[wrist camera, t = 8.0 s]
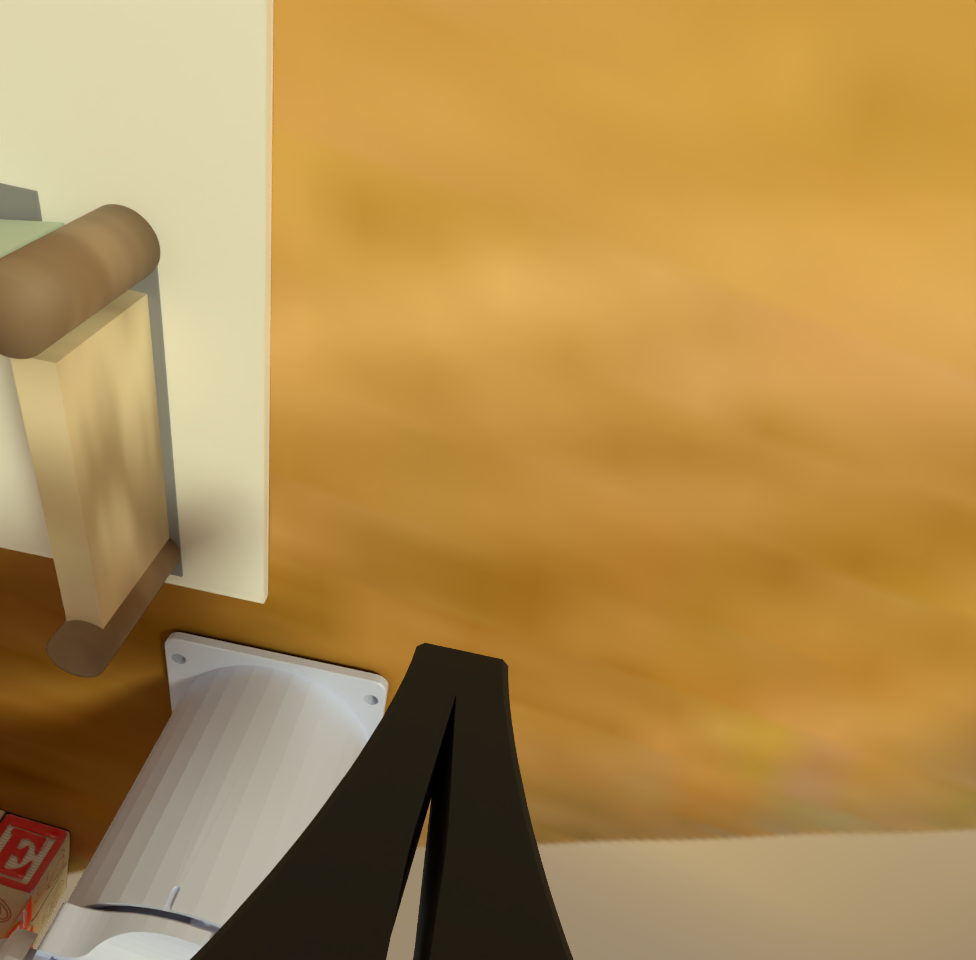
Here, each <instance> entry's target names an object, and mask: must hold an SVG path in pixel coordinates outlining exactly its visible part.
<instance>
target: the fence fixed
mask: <svg viewBox="0 0 976 960" xmlns="http://www.w3.org/2000/svg"><path fill="white" fill-rule="evenodd" d="M159 260H160V245H159V241H158V238H157V236H156V234H155V232H154V230H153V229H152V227H151V226H150V224H149V223H148V222H147V221H146V220H145V219H144V218H143V217H142V216H141V215H140V214H138V213H137V212H135V211H134V210H132V209H130V208H128V207H125V206H122V205H117V204H108V205H103V206H101V207H99V208H97V209H95V210H93V211H91V212H89V213H87V214H85V215H83V216H81V217H79V218H78V219H76V220H74V221H72V222H70V223H68V224H66V225H64V226H62V227H60V228H58V229H56V230H54V231H52V232H50V233H48V234H46V235H44V236H43V237H41V238H39V239H37V240H35V241H33V242H31V243H29V244H27V245H25V246H23V247H21V248H19V249H17V250H15V251H13V252H11V253H9V254H7V255H6V256H4V257H2V258H0V354H1V355H3V356H6V357H10V360H11V365H12V369H13V374H14V379H15V383H16V388H17V393H18V397H19V402H20V406H21V411H22V416H23V420H24V425H25V430H26V434H27V439H28V444H29V448H30V453H31V457H32V462H33V467H34V471H35V476H36V481H37V485H38V490H39V495H40V499H41V504H42V509H43V513H44V518H45V522H46V527H47V532H48V536H49V541H50V546H51V550H52V555H53V560H54V564H55V569H56V573H57V578H58V583H59V587H60V592H61V597H62V601H63V606H64V611H65V615H66V620H65V621H64V623H63V624H62V625H61V627H60V628H59V629H58V630H57V632H56V633H55V634H54V635H53V637H52V638H51V639H50V640H49V642H48V643H47V646H46V650H47V653H48V655H49V657H50V659H51V660H52V661H53V662H54V663H55V664H56V665H57V666H58V667H60V668H61V669H63V670H65V671H66V672H68V673H71V674H73V675H76V676H81V677H95V676H98V675H100V674H101V673H102V672H103V671H104V670H105V668H106V667H107V665H108V664H109V662H110V661H111V659H112V658H113V657H114V655H115V654H116V652H117V651H118V649H119V648H120V646H121V645H122V643H123V642H124V640H125V639H126V638H127V636H128V635H129V633H130V632H131V630H132V629H133V627H134V626H135V624H136V623H137V622H138V620H139V619H140V617H141V616H142V614H143V613H144V611H145V610H146V608H147V607H148V605H149V604H150V603H151V601H152V600H153V598H154V597H155V595H156V594H157V592H158V591H159V589H160V588H161V587H162V585H163V584H164V582H165V581H166V579H167V578H168V576H169V575H170V573H171V572H172V570H173V569H174V568H175V566H176V565H177V563H178V562H179V560H180V551H179V548H178V547H177V545H176V544H175V542H174V541H173V540H172V539H170V536H169V525H168V514H167V504H166V493H165V482H164V471H163V460H162V449H161V438H160V427H159V416H158V405H157V395H156V384H155V373H154V362H153V351H152V340H151V329H150V318H149V307H148V297H147V294H146V293H141V292H137V291H132V290H129V289H130V288H131V287H133V286H134V285H136V284H137V283H138V282H140V281H141V280H143V279H144V278H145V277H147V276H148V275H149V274H151V273H152V272H153V271H154V269H155V268H156V266H157V265H158V263H159Z"/></svg>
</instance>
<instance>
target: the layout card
mask: <svg viewBox="0 0 976 960" xmlns="http://www.w3.org/2000/svg"><path fill="white" fill-rule="evenodd" d="M272 100H273V0H0V219H5V220H25V221H44V222H64V224H65V225H66V224H68V223H70V222H72V221H74V220H76V219H78V218H79V217H81V216H83V215H85V214H87V213H89V212H91V211H93V210H95V209H97V208H99V207H101V206H103V205H108V204H117V205H122V206H125V207H128V208H130V209H132V210H134V211H135V212H137V213H138V214H140V215H141V216H142V217H143V218H144V219H145V220H146V221H147V222H148V223H149V224H150V226H151V227H152V229H153V230H154V232H155V234H156V236H157V238H158V241H159V245H160V260H159V263H158V265H157V266H156V268H155V269H154V271H153V272H152V273H151V274H149V275H148V276H147V277H145V278H144V279H143V280H141V281H140V282H138V283H137V284H136V285H134V286H133V287H131V288H130V289H129V290H132V291H137V292H141V293H146V294H147V297H148V307H149V318H150V329H151V340H152V351H153V362H154V373H155V384H156V395H157V405H158V416H159V427H160V438H161V449H162V460H163V471H164V482H165V493H166V504H167V514H168V525H169V536H170V539H172V540H173V541H174V542H175V544H176V545H177V547H178V548H179V551H180V560H179V562H178V563H177V565H176V566H175V568H174V569H173V570H172V572H171V573H170V575H169V576H168V578H167V579H166V581H165V582H164V583H169V584H174V585H178V586H183V587H188V588H192V589H197V590H202V591H206V592H211V593H216V594H220V595H225V596H230V597H234V598H239V599H244V600H248V601H253V602H258V603H262V604H264V602H265V600H266V598H267V596H268V529H269V421H270V314H271V207H272ZM0 547H1V548H6V549H11V550H15V551H20V552H25V553H29V554H34V555H39V556H43V557H48V558H53V555H52V550H51V546H50V541H49V536H48V532H47V527H46V522H45V518H44V513H43V509H42V504H41V499H40V495H39V490H38V485H37V481H36V476H35V471H34V467H33V462H32V457H31V453H30V448H29V444H28V439H27V434H26V430H25V425H24V420H23V416H22V411H21V406H20V402H19V397H18V393H17V388H16V383H15V379H14V374H13V369H12V365H11V360H10V357H6V356H3V355H1V354H0Z"/></svg>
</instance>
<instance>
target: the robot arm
mask: <svg viewBox="0 0 976 960" xmlns="http://www.w3.org/2000/svg"><path fill="white" fill-rule="evenodd" d="M165 654H166V663H167V672H168V681H169V690H170V700H171V709H172V715H171V717H170V719H169V720H168V722H167V724H166V726H165V728H164V729H163V731H162V733H161V735H160V737H159V738H158V740H157V742H156V744H155V746H154V747H153V749H152V751H151V753H150V755H149V756H148V758H147V760H146V762H145V764H144V765H143V767H142V769H141V771H140V772H139V774H138V776H137V778H136V780H135V781H134V783H133V785H132V787H131V789H130V790H129V792H128V794H127V796H126V798H125V799H124V801H123V803H122V805H121V807H120V808H119V810H118V812H117V814H116V816H115V817H114V819H113V821H112V823H111V825H110V826H109V828H108V830H107V832H106V833H105V835H104V837H103V839H102V841H101V842H100V844H99V846H98V848H97V850H96V851H95V853H94V855H93V857H92V859H91V860H90V862H89V864H88V866H87V868H86V869H85V871H84V873H83V875H82V877H81V878H80V880H79V882H78V884H77V886H76V887H75V889H74V891H73V893H72V895H71V896H70V898H69V900H68V902H65V903H63V905H62V906H61V908H60V910H59V912H58V913H57V915H56V917H55V919H54V920H53V923H52V924H51V926H50V928H49V930H48V931H47V933H46V935H45V937H44V938H43V940H42V942H41V944H40V945H39V947H38V949H37V950H35V949H32V948H31V947H32V945H33V943H34V941H35V939H36V938H37V936H38V934H36V933H33V932H31V931H28V930H25V929H17V930H15V931H14V932H13V933H12V934H11V935H10V936H9V937H8V938H3V939H0V960H386V956H387V951H388V947H389V942H390V937H391V933H392V930H393V926H394V923H395V920H396V916H397V913H398V909H399V906H400V903H401V899H402V896H403V892H404V889H405V886H406V882H407V879H408V875H409V872H410V868H411V865H412V862H413V858H414V855H415V851H416V848H417V845H418V841H419V838H420V834H421V831H422V827H423V824H424V821H425V817H426V814H427V810H428V807H429V804H430V800H431V806H430V815H429V824H428V833H427V842H426V851H425V860H424V869H423V879H422V887H421V897H420V906H419V915H418V924H417V933H416V942H415V950H414V958H413V960H573V957H572V955H571V952H570V949H569V946H568V944H567V941H566V938H565V935H564V932H563V929H562V926H561V923H560V920H559V917H558V914H557V911H556V908H555V905H554V902H553V899H552V895H551V892H550V889H549V886H548V882H547V879H546V875H545V872H544V869H543V865H542V862H541V858H540V854H539V851H538V847H537V843H536V839H535V835H534V832H533V828H532V824H531V819H530V815H529V811H528V807H527V803H526V798H525V793H524V788H523V783H522V779H521V774H520V769H519V764H518V759H517V753H516V747H515V741H514V734H513V727H512V720H511V712H510V702H509V688H508V665H507V664H506V663H505V662H504V660H503V659H498V658H493V657H489V656H484V655H479V654H475V653H470V652H465V651H461V650H456V649H451V648H447V647H442V646H437V645H433V644H428V643H424V644H421V645H419V646H417V647H416V650H415V653H414V656H413V659H412V661H411V664H410V666H409V668H408V670H407V673H406V675H405V677H404V679H403V681H402V683H401V685H400V687H399V689H398V691H397V693H396V695H395V696H394V698H393V700H392V702H391V704H390V705H389V707H388V709H387V711H386V712H385V714H384V711H385V705H386V699H387V692H388V682H387V681H386V679H385V678H383V677H382V676H380V675H377V674H374V673H369V672H364V671H360V670H355V669H350V668H346V667H341V666H336V665H332V664H327V663H322V662H318V661H313V660H308V659H304V658H299V657H294V656H290V655H285V654H280V653H276V652H271V651H266V650H262V649H257V648H252V647H248V646H243V645H238V644H234V643H229V642H224V641H220V640H215V639H210V638H206V637H201V636H196V635H192V634H187V633H182V632H175V633H172V634H171V635H169V637H168V638H167V640H166V642H165Z"/></svg>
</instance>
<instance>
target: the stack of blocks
mask: <svg viewBox="0 0 976 960" xmlns="http://www.w3.org/2000/svg"><path fill="white" fill-rule="evenodd" d="M69 851H70V835H69V832H68V831H65V830H62V829H59V828H55V827H52V826H49V825H45V824H42V823H39V822H35V821H32V820H29V819H25V818H22V817H18V816H15V815H12V814H6V813H5V811H2V810H0V939H3V938H8V937H9V936H10V935H11V934H12V933H13V932H14V931H15V930H17V929H25V930H28V931H31V932H33V933H36V934H38V936H37V938H36V939H35V941H34V943H33V945H32V947H31V948H32V949H33V946H34V945H35V944H36V942H37V940H38V938H39V936H40V935H41V933H42V931H43V929H44V927H45V926H46V924H47V922H48V920H49V918H50V917H51V915H52V913H53V911H54V909H55V908H56V906H57V904H58V902H59V900H60V899H61V897H62V895H63V893H64V891H65V889H66V887H67V873H68V860H69Z"/></svg>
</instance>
